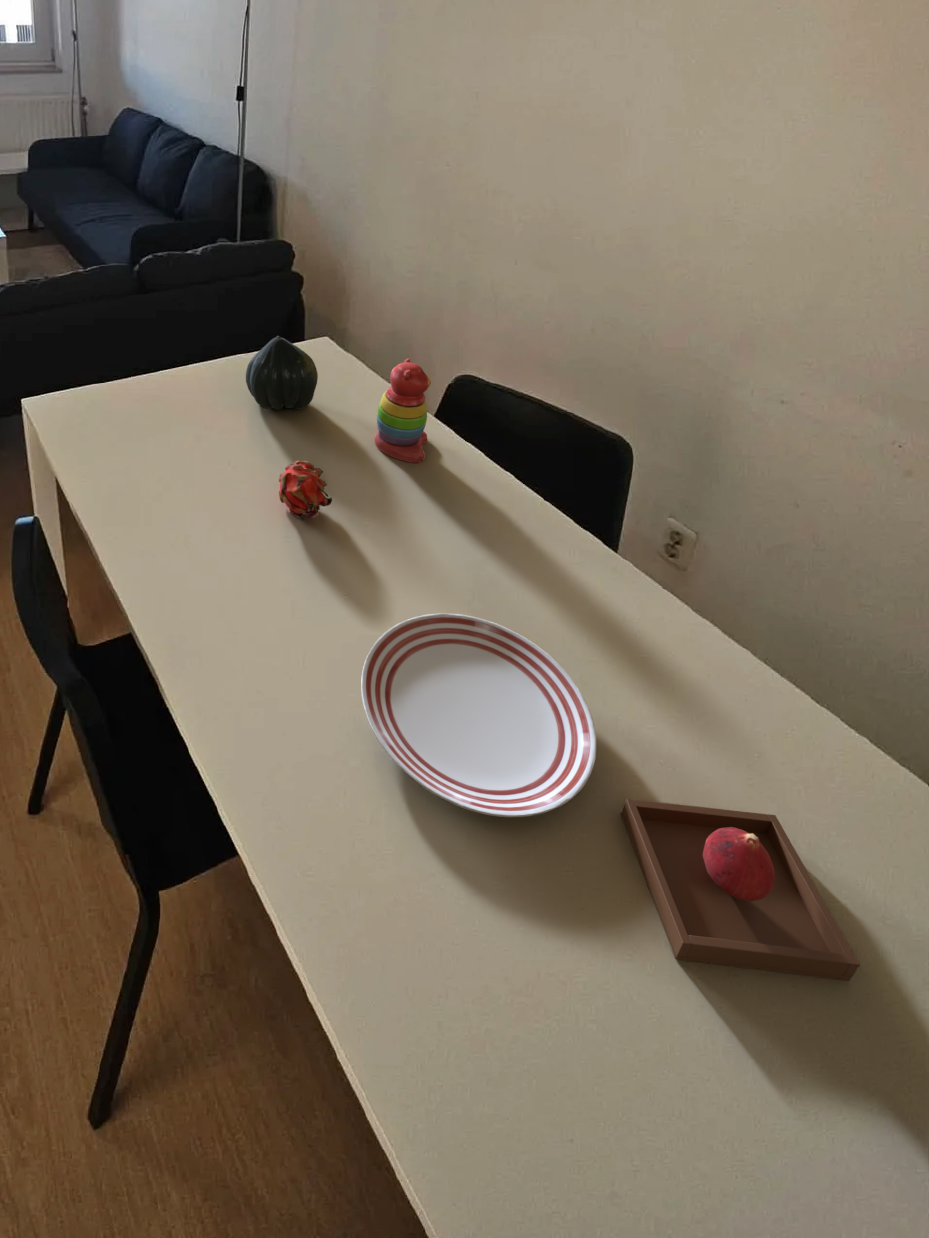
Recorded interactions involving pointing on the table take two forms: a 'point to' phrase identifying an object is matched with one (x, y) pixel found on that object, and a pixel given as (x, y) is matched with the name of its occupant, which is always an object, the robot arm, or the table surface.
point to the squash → (281, 376)
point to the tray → (718, 922)
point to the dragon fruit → (303, 489)
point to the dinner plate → (478, 715)
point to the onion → (739, 864)
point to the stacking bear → (403, 414)
